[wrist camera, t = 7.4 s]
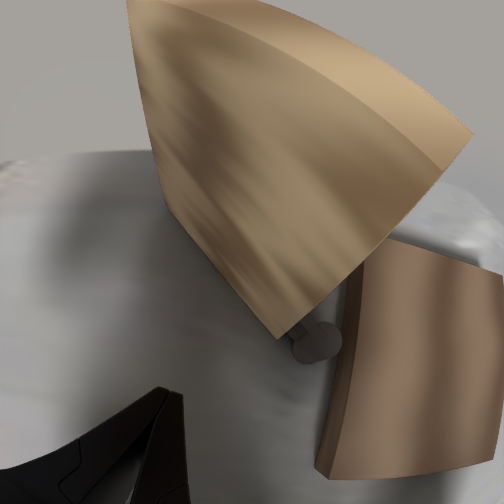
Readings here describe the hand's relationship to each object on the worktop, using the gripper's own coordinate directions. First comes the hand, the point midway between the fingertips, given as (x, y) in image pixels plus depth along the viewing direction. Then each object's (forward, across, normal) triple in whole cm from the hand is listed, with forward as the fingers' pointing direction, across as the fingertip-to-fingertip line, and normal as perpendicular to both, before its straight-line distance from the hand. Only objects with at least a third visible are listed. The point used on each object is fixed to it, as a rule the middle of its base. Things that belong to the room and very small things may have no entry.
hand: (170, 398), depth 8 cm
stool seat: (+8, -14, +2) cm, 16 cm away
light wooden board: (+10, -1, -1) cm, 10 cm away
